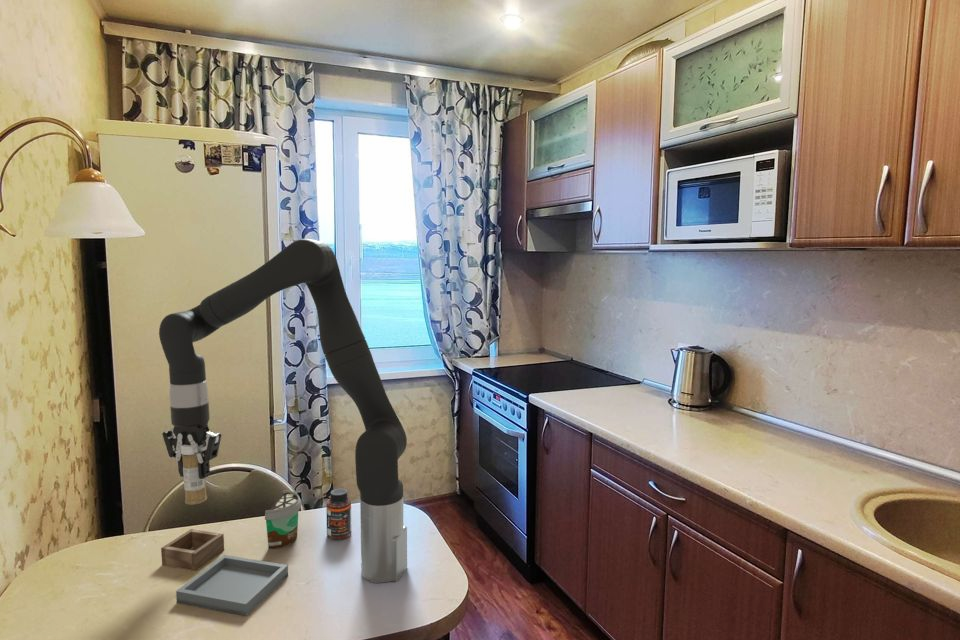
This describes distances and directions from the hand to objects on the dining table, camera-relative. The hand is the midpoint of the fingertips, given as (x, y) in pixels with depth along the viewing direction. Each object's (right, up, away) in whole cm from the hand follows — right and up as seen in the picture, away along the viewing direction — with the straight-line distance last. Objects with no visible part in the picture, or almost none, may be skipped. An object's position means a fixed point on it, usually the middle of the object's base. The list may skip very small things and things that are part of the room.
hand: (194, 476), depth 125 cm
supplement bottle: (+29, -19, +14) cm, 37 cm away
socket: (-2, -20, +3) cm, 20 cm away
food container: (+17, -19, +12) cm, 28 cm away
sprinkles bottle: (0, -6, +1) cm, 6 cm away
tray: (+13, -21, -9) cm, 26 cm away
